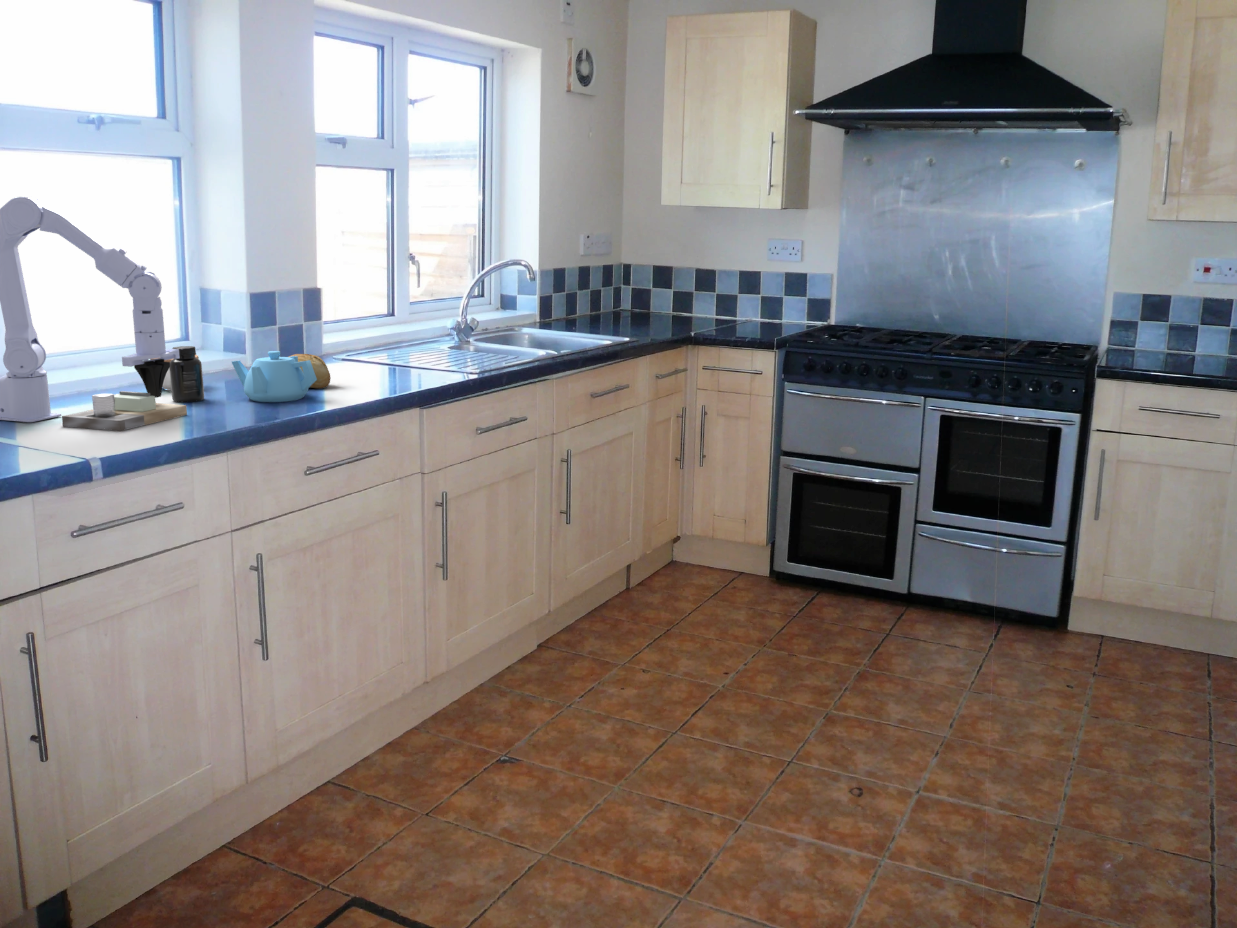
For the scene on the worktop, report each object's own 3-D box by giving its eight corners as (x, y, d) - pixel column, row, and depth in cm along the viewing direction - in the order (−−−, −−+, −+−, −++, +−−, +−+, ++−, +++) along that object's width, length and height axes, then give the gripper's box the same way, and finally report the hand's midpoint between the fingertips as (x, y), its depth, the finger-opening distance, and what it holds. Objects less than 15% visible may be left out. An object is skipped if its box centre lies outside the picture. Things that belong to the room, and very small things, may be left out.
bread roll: (287, 382, 279) (285, 350, 277) (340, 385, 275) (338, 353, 273) (264, 388, 270) (262, 355, 268) (319, 391, 266) (317, 358, 264)
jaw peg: (90, 426, 221) (87, 396, 219) (105, 422, 224) (103, 393, 223) (106, 427, 219) (103, 397, 218) (121, 424, 223) (118, 394, 222)
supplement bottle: (208, 398, 254) (204, 345, 252) (198, 403, 248) (194, 349, 245) (178, 398, 254) (174, 345, 252) (167, 403, 248) (162, 348, 245)
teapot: (251, 406, 245) (248, 357, 242) (232, 396, 257) (229, 349, 255) (320, 400, 253) (317, 353, 251) (298, 391, 265) (295, 346, 263)
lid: (106, 409, 227) (104, 393, 227) (120, 406, 231) (119, 390, 230) (142, 411, 224) (140, 396, 224) (156, 408, 228) (154, 393, 227)
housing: (62, 426, 220) (61, 416, 220) (132, 410, 238) (131, 401, 237) (120, 431, 216) (119, 420, 215) (187, 414, 233) (186, 405, 233)
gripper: (139, 336, 223) (145, 403, 226) (189, 329, 236) (194, 392, 239) (111, 334, 225) (117, 401, 228) (161, 327, 239) (167, 390, 242)
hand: (154, 396), depth 234 cm, fingers closed
